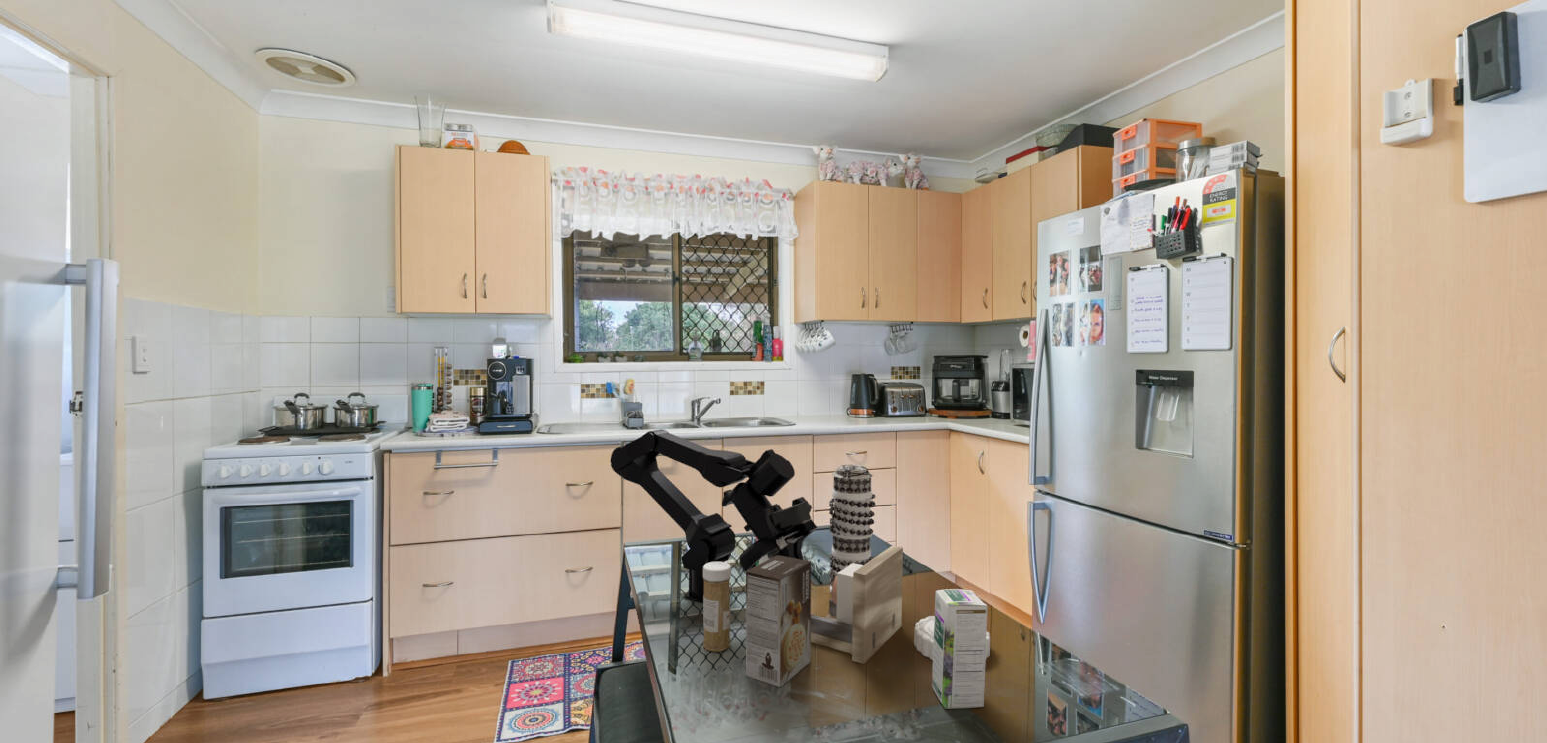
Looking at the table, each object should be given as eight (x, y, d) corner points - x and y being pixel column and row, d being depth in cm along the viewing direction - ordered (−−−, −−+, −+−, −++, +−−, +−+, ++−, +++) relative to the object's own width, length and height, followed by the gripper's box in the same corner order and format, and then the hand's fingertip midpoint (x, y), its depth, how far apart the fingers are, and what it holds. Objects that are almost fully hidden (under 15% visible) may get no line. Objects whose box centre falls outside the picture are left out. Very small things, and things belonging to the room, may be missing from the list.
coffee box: (776, 652, 104) (777, 553, 103) (811, 662, 101) (812, 560, 100) (744, 676, 96) (744, 570, 96) (780, 689, 93) (782, 579, 92)
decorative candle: (883, 595, 128) (885, 469, 127) (843, 602, 124) (845, 473, 123) (857, 579, 136) (859, 461, 135) (819, 586, 132) (821, 464, 131)
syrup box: (930, 687, 94) (932, 589, 93) (970, 686, 94) (972, 588, 94) (944, 710, 88) (946, 605, 87) (986, 708, 88) (989, 604, 88)
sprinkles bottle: (735, 648, 105) (736, 566, 104) (710, 655, 103) (711, 572, 102) (721, 637, 109) (722, 558, 108) (697, 644, 106) (697, 563, 106)
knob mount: (796, 644, 107) (797, 560, 106) (839, 610, 120) (840, 536, 120) (863, 664, 100) (865, 575, 100) (901, 626, 114) (902, 547, 113)
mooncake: (1004, 664, 101) (1004, 641, 101) (931, 669, 99) (932, 646, 99) (968, 630, 113) (969, 610, 113) (903, 634, 111) (903, 614, 111)
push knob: (829, 630, 109) (830, 572, 109) (845, 617, 114) (846, 561, 114) (863, 639, 106) (864, 579, 105) (878, 626, 111) (879, 568, 110)
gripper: (755, 495, 108) (811, 574, 103) (809, 476, 124) (860, 544, 119) (716, 533, 113) (768, 610, 108) (773, 510, 129) (821, 576, 124)
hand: (807, 583), depth 114 cm, fingers closed
